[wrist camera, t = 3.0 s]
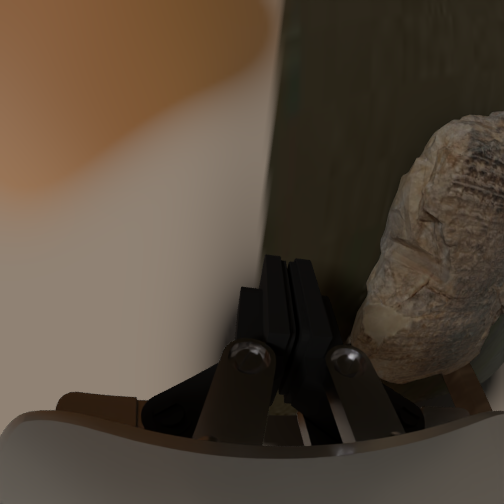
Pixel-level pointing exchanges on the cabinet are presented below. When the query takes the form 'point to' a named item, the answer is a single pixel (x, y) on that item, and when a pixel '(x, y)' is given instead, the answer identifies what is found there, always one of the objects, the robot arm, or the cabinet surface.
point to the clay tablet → (439, 257)
